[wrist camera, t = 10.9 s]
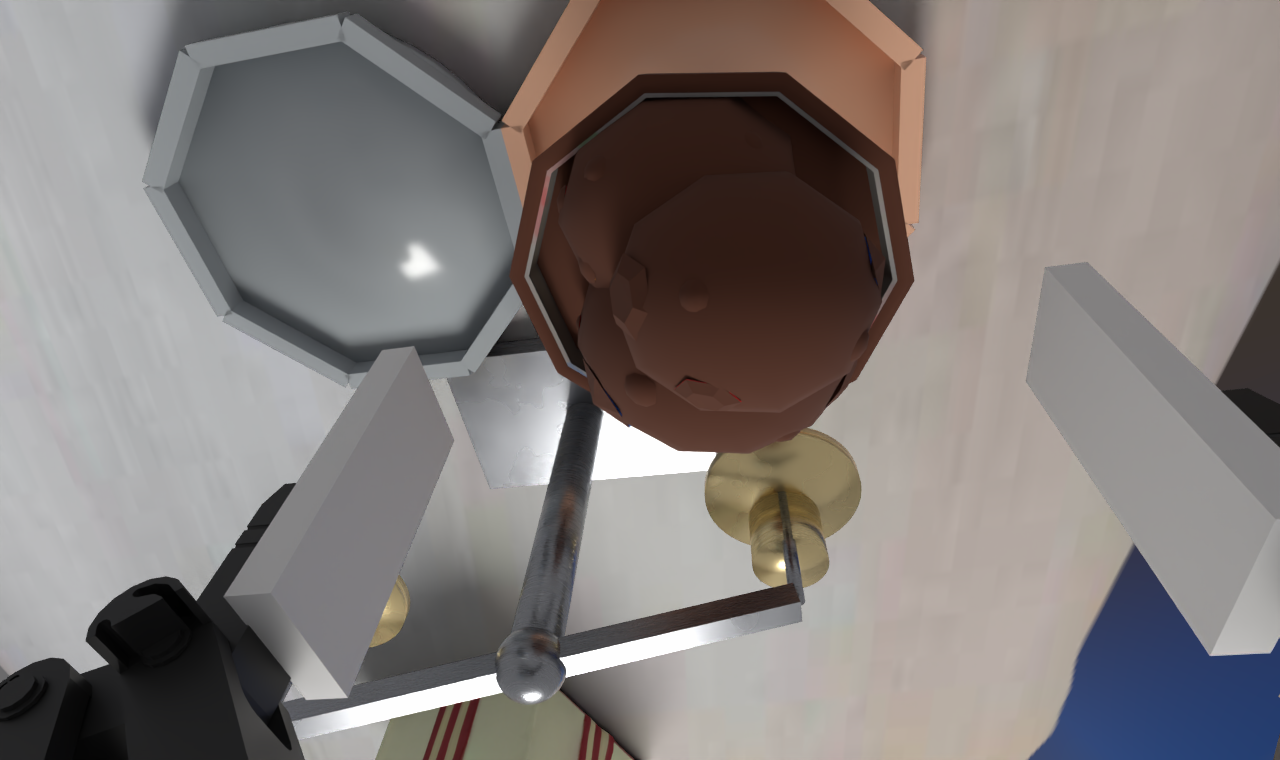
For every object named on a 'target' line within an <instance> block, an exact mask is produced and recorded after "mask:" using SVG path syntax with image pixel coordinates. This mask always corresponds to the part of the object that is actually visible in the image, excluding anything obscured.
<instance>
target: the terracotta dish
mask: <svg viewBox="0 0 1280 760" xmlns="http://www.w3.org/2000/svg"><path fill="white" fill-rule="evenodd" d="M922 50H923V49H922V48H921V47H920V46H919V45H917V44H916V43H915V42H914V41H913V40H912V39H911V38H910V37H909V36H908V35H906V34H905V33H904V32H903V31H902V30H901V29H900V28H899V27H898V26H896V25H895V24H894V23H893V22H892V21H891V20H890V19H889V18H888V17H886V16H885V15H884V14H883V13H882V12H881V11H880V10H879V9H878V8H877V7H875V6H874V5H873V4H872V3H871V2H870V1H869V0H570V2H569V3H568V5H567V7H566V9H565V10H564V12H563V14H562V16H561V17H560V19H559V21H558V23H557V24H556V26H555V28H554V30H553V31H552V33H551V35H550V37H549V38H548V40H547V42H546V44H545V45H544V47H543V49H542V51H541V53H540V54H539V56H538V58H537V60H536V61H535V63H534V65H533V67H532V68H531V70H530V72H529V74H528V75H527V77H526V79H525V81H524V82H523V84H522V86H521V88H520V89H519V91H518V93H517V95H516V96H515V98H514V100H513V102H512V103H511V105H510V107H509V109H508V110H507V112H506V114H505V116H504V117H503V119H502V121H503V122H504V123H505V124H504V125H503V127H502V128H501V132H502V135H503V139H504V143H505V146H506V150H507V153H508V157H509V161H510V164H511V168H512V171H513V175H514V179H515V182H516V186H517V190H518V193H519V197H520V200H521V204H522V208H523V205H524V200H525V195H526V190H527V185H528V180H529V175H530V170H531V165H532V161H533V160H534V159H535V158H536V157H538V156H539V155H540V154H541V153H543V152H544V151H545V150H546V149H548V148H549V147H550V146H551V145H552V144H554V143H555V142H556V141H557V140H559V139H560V138H561V137H562V136H564V135H565V134H566V133H567V132H568V131H570V130H571V129H572V128H573V127H575V126H576V125H577V124H578V123H580V122H581V121H582V120H583V119H584V118H586V117H587V116H588V115H589V114H591V113H592V112H593V111H594V110H595V109H597V108H598V107H599V106H600V105H602V104H603V103H604V102H605V101H607V100H608V99H609V98H610V97H611V96H613V95H614V94H615V93H616V92H618V91H619V90H620V89H621V88H623V87H624V86H625V85H626V84H627V83H629V82H630V81H631V80H632V79H634V78H635V77H636V76H637V75H640V74H653V73H719V72H786V73H788V74H789V75H790V76H791V77H793V78H794V79H795V80H796V81H798V82H799V83H800V84H801V85H803V86H804V87H805V88H806V89H808V90H809V91H810V92H811V93H813V94H814V95H815V96H816V97H818V98H819V99H820V100H821V101H823V102H824V103H825V104H826V105H828V106H829V107H830V108H831V109H833V110H834V111H835V112H836V113H838V114H839V115H840V116H841V117H843V118H844V119H845V120H846V121H848V122H849V123H850V124H851V125H853V126H854V127H855V128H856V129H858V130H859V131H860V132H861V133H863V134H864V135H865V136H866V137H868V138H869V139H870V140H871V141H873V142H874V143H875V144H876V145H878V146H879V147H880V148H881V149H883V150H884V151H885V152H886V153H888V154H889V155H890V156H891V157H893V158H894V159H895V163H896V169H897V176H898V182H899V188H900V194H901V201H902V207H903V213H904V219H905V226H906V232H907V237H908V236H909V235H910V234H911V233H912V232H913V231H914V230H915V229H914V227H913V226H912V224H913V223H918V222H919V201H920V179H921V158H922V137H923V115H924V94H925V73H926V57H925V56H923V55H922V54H920V53H921V51H922Z"/></svg>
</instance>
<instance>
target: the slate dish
mask: <svg viewBox="0 0 1280 760" xmlns="http://www.w3.org/2000/svg"><path fill="white" fill-rule="evenodd" d="M185 48H186V49H182V50H179V53H178V57H177V60H176V64H175V67H174V71H173V74H172V78H171V81H170V85H169V88H168V92H167V95H166V99H165V102H164V106H163V110H162V113H161V117H160V120H159V124H158V127H157V131H156V134H155V138H154V141H153V145H152V148H151V152H150V155H149V159H148V162H147V166H146V169H145V173H144V176H143V180H142V182H144V183H145V184H147V185H149V186H147V187H145V188H143V189H144V190H145V192H146V194H147V196H148V197H149V199H150V201H151V203H152V204H153V206H154V208H155V210H156V211H157V213H158V215H159V216H160V218H161V220H162V222H163V223H164V225H165V227H166V229H167V230H168V232H169V234H170V236H171V237H172V239H173V241H174V243H175V244H176V246H177V248H178V249H179V251H180V253H181V255H182V256H183V258H184V260H185V262H186V263H187V265H188V267H189V269H190V270H191V272H192V274H193V276H194V277H195V279H196V281H197V282H198V284H199V286H200V288H201V289H202V291H203V293H204V295H205V296H206V298H207V300H208V302H209V303H210V305H211V307H212V309H213V310H214V312H215V314H216V315H217V316H224V318H223V322H224V323H226V324H228V325H230V326H232V327H234V328H236V329H237V330H239V331H241V332H243V333H245V334H247V335H249V336H250V337H252V338H254V339H256V340H258V341H260V342H262V343H263V344H265V345H267V346H269V347H271V348H273V349H275V350H277V351H278V352H280V353H282V354H284V355H286V356H288V357H290V358H291V359H293V360H295V361H297V362H299V363H301V364H303V365H304V366H306V367H308V368H310V369H312V370H314V371H316V372H317V373H319V374H321V375H323V376H325V377H327V378H329V379H331V380H332V381H334V382H336V383H338V384H340V385H342V386H344V387H346V386H347V384H348V383H349V385H350V387H351V389H354V388H358V387H359V385H360V384H361V382H362V381H363V379H364V377H365V376H366V374H367V373H368V371H369V370H370V368H371V367H372V365H373V364H374V362H375V360H376V359H377V357H378V356H379V354H380V353H381V351H382V350H387V349H395V348H403V347H411V346H414V347H415V349H416V351H417V354H418V356H419V358H420V361H421V363H422V366H423V368H424V370H425V373H426V375H427V377H428V380H434V379H443V378H452V377H461V376H469V375H470V374H471V372H474V373H475V372H476V370H477V369H478V367H479V366H480V365H481V363H482V362H483V360H484V359H485V357H486V356H487V354H488V353H489V352H490V350H491V349H492V347H493V346H494V344H495V343H496V341H497V340H498V339H499V337H500V336H501V334H502V333H503V331H504V330H505V329H506V327H507V326H508V324H509V323H510V321H511V320H512V318H513V317H514V316H515V314H516V313H517V311H518V310H519V308H520V307H521V306H522V304H523V303H522V301H521V299H520V297H519V295H518V293H517V291H516V289H515V287H514V285H513V283H512V281H511V279H510V277H509V274H510V270H511V265H512V260H513V255H514V250H515V245H516V240H517V235H518V230H519V225H520V220H521V215H522V210H523V208H522V204H521V200H520V197H519V193H518V190H517V186H516V182H515V179H514V175H513V171H512V168H511V164H510V161H509V157H508V153H507V150H506V146H505V143H504V139H503V135H502V132H501V128H502V127H503V125H504V124H505V123H504V122H501V123H499V122H498V121H499V119H500V117H501V116H502V115H501V114H500V113H499V112H497V111H496V110H494V109H493V108H491V107H490V106H489V105H487V104H486V103H484V102H483V101H482V100H481V99H480V98H479V97H478V96H477V95H476V94H475V93H474V92H473V91H472V90H471V89H470V88H469V87H468V86H467V85H466V84H465V83H464V82H463V81H462V80H461V79H460V78H458V77H457V76H456V75H455V74H453V73H452V72H451V71H450V70H448V69H447V68H446V67H445V66H443V65H442V64H441V63H440V62H438V61H437V60H435V59H433V58H432V57H430V56H429V55H427V54H425V53H424V52H422V51H421V50H419V49H417V48H416V47H414V46H412V45H410V44H408V43H406V42H403V41H401V40H399V39H397V38H395V37H393V36H391V35H388V34H386V33H384V32H383V31H381V30H380V29H379V28H377V27H376V26H374V25H373V24H371V23H370V22H369V21H367V20H366V19H364V18H363V17H361V16H360V15H359V14H357V13H356V14H353V15H351V16H350V14H349V11H347V12H342V13H337V14H332V15H327V16H322V17H317V18H312V19H307V20H303V21H297V22H289V23H283V24H279V25H276V26H272V27H268V28H263V29H258V30H253V31H248V32H243V33H238V34H233V35H228V36H223V37H218V38H213V39H208V40H203V41H199V42H195V43H192V44H188V45H185Z"/></svg>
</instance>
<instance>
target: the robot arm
mask: <svg viewBox="0 0 1280 760" xmlns="http://www.w3.org/2000/svg"><path fill="white" fill-rule="evenodd" d="M1026 382H1027V384H1028V385H1029V387H1030V388H1031V390H1032V391H1033V393H1034V394H1035V396H1036V397H1037V399H1038V400H1039V402H1040V403H1041V405H1042V406H1043V408H1044V409H1045V411H1046V412H1047V414H1048V415H1049V417H1050V418H1051V420H1052V421H1053V422H1054V424H1055V425H1056V427H1057V428H1058V430H1059V431H1060V433H1061V434H1062V436H1063V437H1064V439H1065V440H1066V442H1067V443H1068V445H1069V446H1070V448H1071V449H1072V451H1073V452H1074V454H1075V455H1076V457H1077V458H1078V460H1079V461H1080V463H1081V464H1082V466H1083V467H1084V469H1085V470H1086V472H1087V473H1088V475H1089V476H1090V478H1091V479H1092V481H1093V482H1094V484H1095V485H1096V487H1097V488H1098V490H1099V491H1100V493H1101V494H1102V496H1103V497H1104V499H1105V500H1106V502H1107V503H1108V505H1109V506H1110V508H1111V509H1112V510H1113V512H1114V513H1115V515H1116V516H1117V518H1118V519H1119V521H1120V522H1121V524H1122V525H1123V527H1124V528H1125V530H1126V531H1127V533H1128V534H1129V536H1130V537H1131V539H1132V540H1133V542H1134V543H1135V545H1136V546H1137V548H1138V549H1139V551H1140V552H1141V554H1142V555H1143V557H1144V558H1145V560H1146V561H1147V563H1148V564H1149V566H1150V567H1151V569H1152V570H1153V572H1154V573H1155V575H1156V576H1157V577H1158V579H1159V580H1160V582H1161V584H1162V585H1163V586H1164V588H1165V590H1166V591H1167V593H1168V594H1169V595H1170V597H1171V598H1172V600H1173V601H1174V603H1175V604H1176V606H1177V607H1178V609H1179V610H1180V612H1181V613H1182V615H1183V616H1184V617H1185V619H1186V621H1187V622H1188V624H1189V625H1190V627H1191V628H1192V629H1193V631H1194V633H1195V634H1196V636H1197V637H1198V639H1199V640H1200V642H1201V643H1202V645H1203V646H1204V647H1205V649H1206V651H1207V652H1208V654H1209V655H1210V656H1216V655H1238V654H1259V653H1271V651H1272V649H1273V648H1274V646H1275V644H1276V642H1277V641H1278V639H1279V637H1280V404H1278V403H1276V402H1274V401H1272V400H1270V399H1268V398H1266V397H1264V396H1262V395H1260V394H1258V393H1256V392H1254V391H1252V390H1250V389H1248V388H1245V389H1235V390H1226V391H1220V390H1219V389H1218V388H1217V387H1216V386H1215V385H1214V384H1213V383H1212V382H1211V381H1210V380H1209V379H1208V378H1207V377H1206V376H1205V375H1204V374H1203V373H1202V372H1201V371H1200V370H1199V369H1198V368H1197V367H1196V366H1195V365H1193V364H1192V363H1191V362H1190V361H1189V360H1188V359H1187V358H1186V357H1185V356H1184V355H1183V354H1182V353H1181V352H1180V351H1179V350H1178V349H1177V348H1176V347H1175V346H1174V345H1173V344H1172V343H1171V342H1170V341H1169V340H1168V339H1167V338H1165V337H1164V336H1163V335H1162V334H1161V333H1160V332H1159V331H1158V330H1157V329H1156V328H1155V327H1154V326H1153V325H1152V324H1151V323H1150V322H1149V321H1148V320H1147V319H1146V318H1145V317H1144V316H1143V315H1142V314H1141V313H1140V312H1139V311H1137V310H1136V309H1135V308H1134V307H1133V306H1132V305H1131V304H1130V303H1129V302H1128V301H1127V300H1126V299H1125V298H1124V297H1123V296H1122V295H1121V294H1120V293H1119V292H1118V291H1117V290H1116V289H1115V288H1114V287H1113V286H1112V285H1111V284H1109V283H1108V282H1107V281H1106V280H1105V279H1104V278H1103V277H1102V276H1101V275H1100V274H1099V273H1098V272H1097V271H1096V270H1095V269H1094V268H1093V267H1092V266H1091V265H1090V264H1089V263H1088V262H1084V263H1076V264H1068V265H1060V266H1052V267H1045V270H1044V276H1043V282H1042V288H1041V294H1040V300H1039V306H1038V312H1037V318H1036V324H1035V330H1034V336H1033V342H1032V348H1031V354H1030V360H1029V366H1028V371H1027V377H1026ZM453 442H454V439H453V436H452V434H451V432H450V429H449V427H448V424H447V422H446V420H445V417H444V415H443V413H442V410H441V408H440V406H439V403H438V401H437V399H436V396H435V394H434V391H433V389H432V387H431V384H430V382H429V380H428V377H427V375H426V373H425V370H424V368H423V366H422V363H421V361H420V358H419V356H418V354H417V351H416V349H415V347H414V346H411V347H403V348H395V349H387V350H382V351H381V353H380V354H379V356H378V357H377V359H376V360H375V362H374V364H373V365H372V367H371V368H370V370H369V371H368V373H367V374H366V376H365V377H364V379H363V381H362V382H361V384H360V385H359V387H358V388H357V390H356V391H355V393H354V395H353V396H352V398H351V399H350V401H349V402H348V404H347V405H346V407H345V409H344V410H343V412H342V413H341V415H340V416H339V418H338V419H337V421H336V423H335V424H334V426H333V427H332V429H331V430H330V432H329V433H328V435H327V437H326V438H325V440H324V441H323V443H322V444H321V446H320V447H319V449H318V450H317V452H316V454H315V455H314V457H313V458H312V460H311V461H310V463H309V464H308V466H307V468H306V469H305V471H304V472H303V474H302V475H301V477H300V478H299V480H298V482H297V483H291V484H284V485H283V486H282V487H281V488H280V489H279V490H278V491H277V492H275V493H274V494H273V495H272V496H271V497H270V498H269V499H268V500H266V501H265V502H264V503H263V504H262V505H261V507H260V508H259V510H258V511H257V513H256V514H255V516H254V517H253V519H252V520H251V521H250V523H249V524H248V526H247V527H248V530H245V531H244V532H243V533H242V535H241V536H240V538H239V539H238V541H237V542H236V544H235V545H236V547H235V548H233V549H232V550H231V551H230V552H229V554H228V555H227V557H226V558H225V560H224V561H223V563H222V564H221V566H220V567H219V569H218V570H217V572H216V573H215V575H214V576H213V578H212V579H211V581H210V582H209V584H208V585H207V586H206V588H205V589H204V591H203V592H202V594H201V595H200V597H199V598H198V600H197V601H196V600H195V599H194V598H193V597H192V595H191V594H190V593H189V592H188V591H187V589H186V588H185V587H184V586H183V585H182V583H181V582H180V581H179V580H178V579H175V578H171V577H160V578H154V579H149V580H147V581H145V582H142V583H140V584H138V585H135V586H133V587H131V588H130V589H128V590H126V591H125V592H123V593H122V594H120V595H119V596H117V597H116V598H114V599H113V600H112V601H111V602H110V603H109V604H108V605H107V606H106V607H105V608H104V609H102V610H101V611H100V612H99V613H98V615H97V616H96V618H95V619H94V621H93V622H92V624H91V625H90V627H89V629H88V633H87V637H86V642H87V643H88V644H89V645H90V646H91V647H92V648H93V649H94V650H95V651H96V652H97V653H99V654H100V655H101V656H102V657H103V658H104V659H105V660H106V661H107V662H108V663H109V665H106V666H103V667H100V668H97V669H94V670H91V671H88V672H85V673H82V674H79V673H78V672H77V671H76V670H75V669H74V668H73V667H72V666H71V665H70V664H69V663H68V662H66V661H65V660H64V659H60V658H48V659H45V660H41V661H38V662H34V663H32V664H30V665H28V666H26V667H24V668H23V669H21V670H19V671H17V672H15V673H14V674H12V675H11V676H9V677H8V678H7V679H6V680H4V681H2V682H1V683H0V760H305V759H304V756H303V753H302V750H301V747H300V744H299V741H298V738H297V735H296V732H295V729H294V726H293V723H292V720H291V717H290V714H289V712H288V711H287V709H286V708H285V707H284V705H283V704H282V703H281V702H280V700H281V698H282V696H283V694H284V692H285V690H286V688H287V686H288V684H289V682H290V680H291V682H292V683H293V684H294V685H295V687H296V688H297V689H298V690H299V692H300V693H301V694H302V695H303V697H304V698H305V699H306V700H315V699H335V698H348V696H349V694H350V692H351V689H352V687H353V684H354V682H355V679H356V677H357V675H358V672H359V670H360V667H361V665H362V663H363V660H364V658H365V655H366V653H367V650H368V648H369V646H370V643H371V641H372V638H373V636H374V633H375V631H376V629H377V626H378V624H379V621H380V619H381V617H382V614H383V612H384V609H385V607H386V604H387V602H388V600H389V597H390V595H391V592H392V590H393V587H394V585H395V583H396V580H397V578H398V575H399V573H400V571H401V568H402V566H403V563H404V561H405V558H406V556H407V554H408V551H409V549H410V546H411V544H412V541H413V539H414V537H415V534H416V532H417V529H418V527H419V525H420V522H421V520H422V517H423V515H424V512H425V510H426V508H427V505H428V503H429V500H430V498H431V495H432V493H433V491H434V488H435V486H436V483H437V481H438V479H439V476H440V474H441V471H442V469H443V466H444V464H445V462H446V459H447V457H448V454H449V452H450V449H451V447H452V445H453ZM1278 697H1280V695H1279V696H1278ZM1273 760H1280V736H1279V740H1278V743H1277V747H1276V751H1275V755H1274V759H1273Z"/></svg>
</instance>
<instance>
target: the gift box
mask: <svg viewBox="0 0 1280 760" xmlns="http://www.w3.org/2000/svg"><path fill="white" fill-rule="evenodd" d="M375 760H635V759H633V758H632V757H631V756H630V755H629V754H628V753H627V752H626V751H625V750H624V749H622V748H621V747H620V746H619V745H618V744H617V743H616V742H615V741H614V738H613V737H612V736H611V735H610V734H609V733H607V732H606V731H604V730H603V729H601V728H600V727H599V726H598V725H597V724H596V723H595V722H594V721H593V720H592V719H591V718H590V717H589V716H588V715H587V714H585V713H584V712H583V711H582V710H581V709H580V708H579V707H578V706H577V705H576V704H575V703H574V702H572V701H571V700H570V699H569V698H568V697H567V696H566V695H565V694H564V693H563V692H562V691H561V690H560V689H559V690H558V691H557V693H556V694H554V695H553V696H552V697H551V698H549V699H548V700H546V701H544V702H542V703H539V704H534V705H524V704H519V703H517V702H514V701H512V700H511V699H509V698H508V697H507V696H506V695H505V694H504V693H503V692H501V693H497V694H493V695H488V696H484V697H480V698H476V699H471V700H467V701H463V702H459V703H454V704H450V705H446V706H442V707H437V708H433V709H429V710H425V711H421V712H416V713H412V714H408V715H404V716H399V717H395V718H391V720H390V722H389V724H388V727H387V730H386V732H385V735H384V738H383V740H382V743H381V746H380V748H379V751H378V754H377V756H376V759H375Z"/></svg>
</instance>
